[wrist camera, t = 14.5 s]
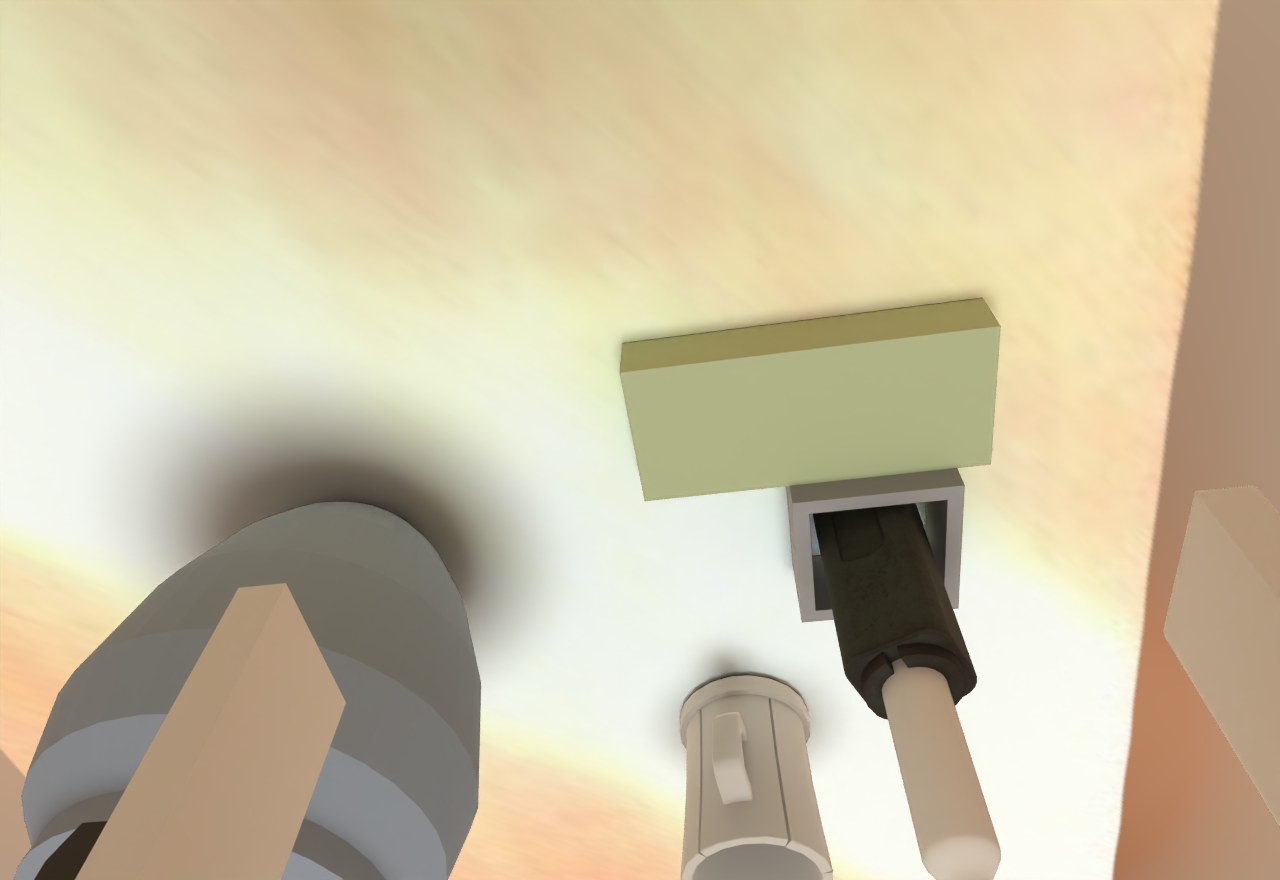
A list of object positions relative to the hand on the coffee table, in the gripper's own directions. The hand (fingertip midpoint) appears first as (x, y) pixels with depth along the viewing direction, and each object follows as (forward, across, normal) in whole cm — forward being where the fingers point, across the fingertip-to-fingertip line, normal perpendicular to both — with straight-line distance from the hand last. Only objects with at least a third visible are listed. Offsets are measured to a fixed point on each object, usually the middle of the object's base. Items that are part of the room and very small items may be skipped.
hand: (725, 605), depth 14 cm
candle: (+32, +7, -24) cm, 41 cm away
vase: (+32, -23, -24) cm, 46 cm away
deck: (+32, +4, -20) cm, 38 cm away
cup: (+32, -2, -41) cm, 52 cm away
